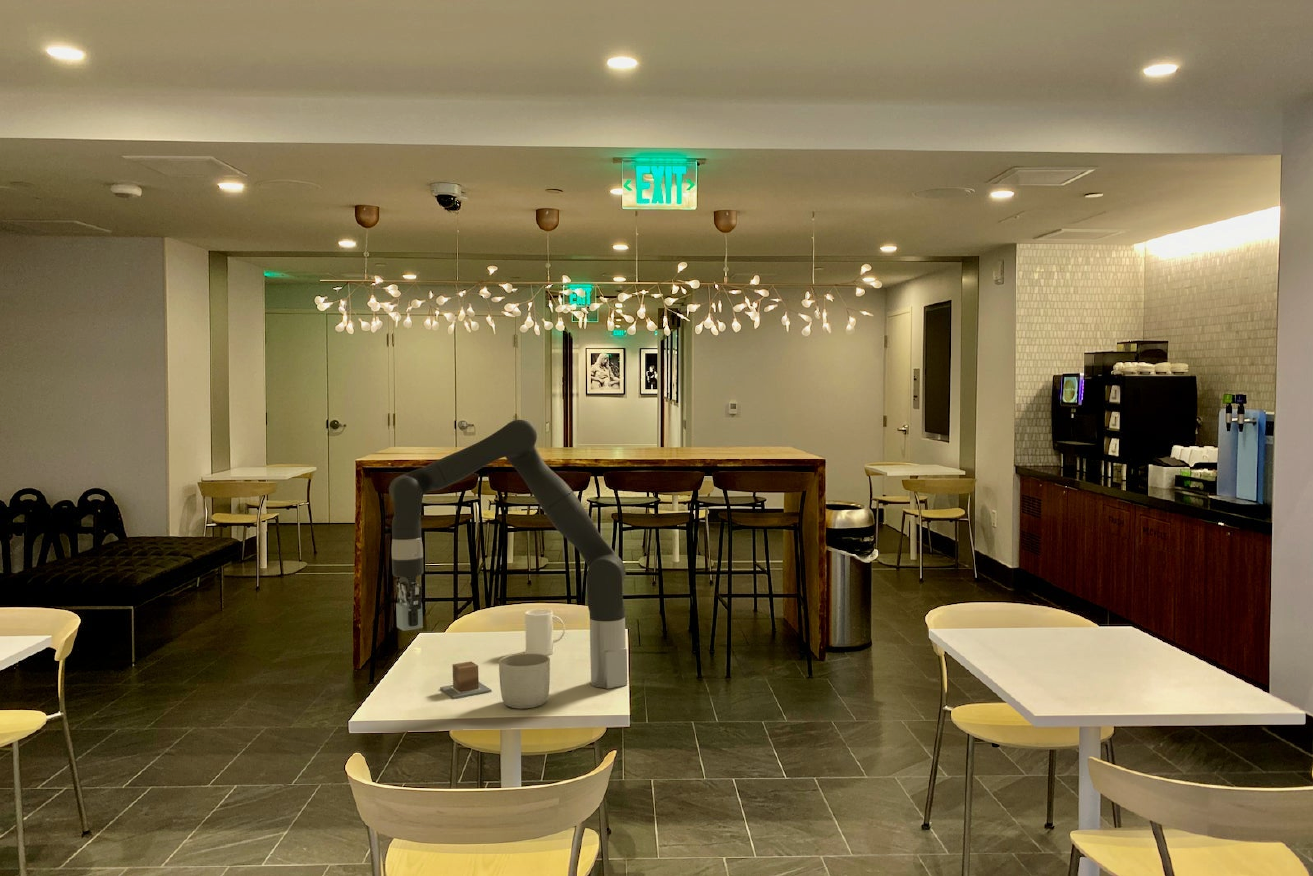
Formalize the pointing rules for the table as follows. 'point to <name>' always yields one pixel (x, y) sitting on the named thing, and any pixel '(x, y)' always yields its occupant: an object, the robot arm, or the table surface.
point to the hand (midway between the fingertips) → (409, 623)
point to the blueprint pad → (457, 694)
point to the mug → (540, 631)
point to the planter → (524, 680)
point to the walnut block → (465, 676)
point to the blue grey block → (403, 617)
